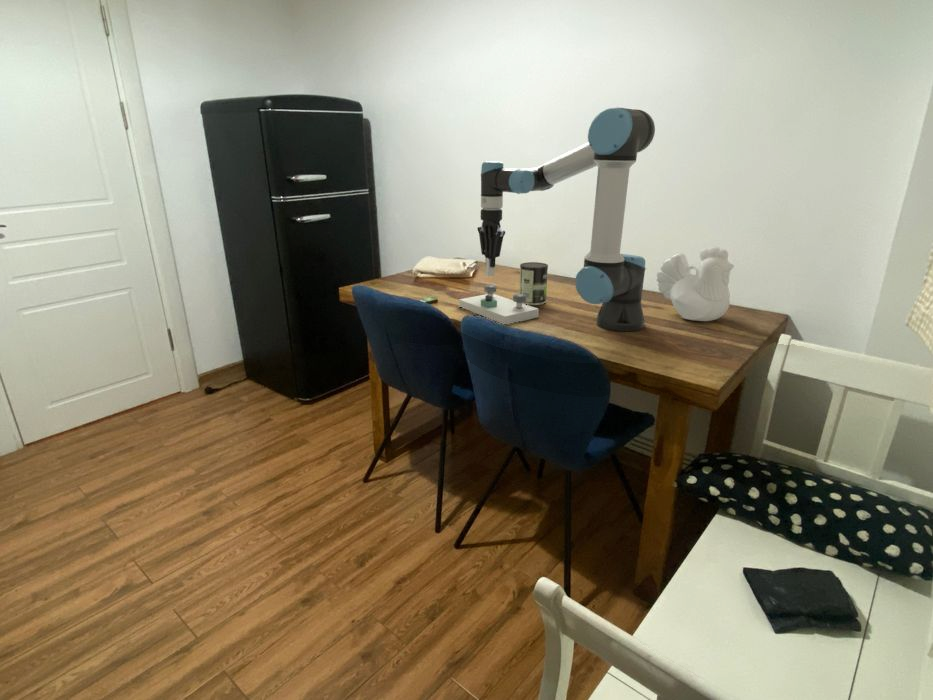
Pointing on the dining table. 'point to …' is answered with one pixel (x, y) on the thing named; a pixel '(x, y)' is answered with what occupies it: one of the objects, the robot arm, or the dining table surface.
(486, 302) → the knob
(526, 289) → the coffee can
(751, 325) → the dining table surface
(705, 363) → the dining table surface
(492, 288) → the knob far
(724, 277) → the decorative rooster
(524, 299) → the knob near
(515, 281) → the dining table surface
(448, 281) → the dining table surface
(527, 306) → the panel
